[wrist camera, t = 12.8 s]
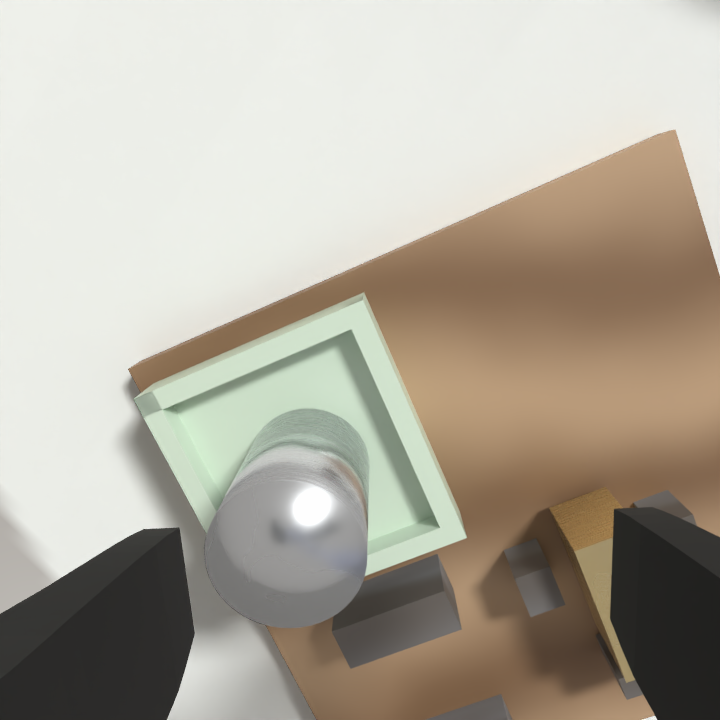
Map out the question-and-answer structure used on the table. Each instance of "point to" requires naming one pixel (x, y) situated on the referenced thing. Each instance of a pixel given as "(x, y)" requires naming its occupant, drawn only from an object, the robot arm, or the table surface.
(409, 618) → the board
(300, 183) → the table surface
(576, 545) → the tan rectangular block
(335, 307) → the tray
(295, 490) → the shiny metal cylinder
